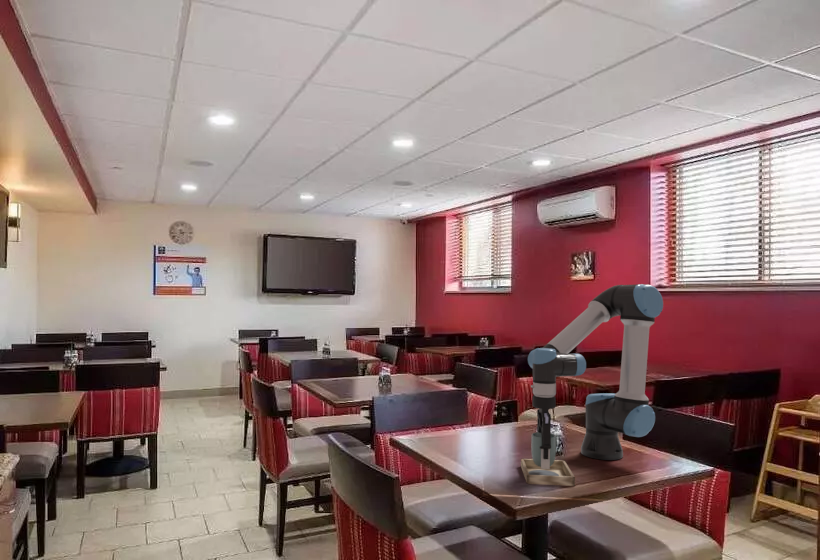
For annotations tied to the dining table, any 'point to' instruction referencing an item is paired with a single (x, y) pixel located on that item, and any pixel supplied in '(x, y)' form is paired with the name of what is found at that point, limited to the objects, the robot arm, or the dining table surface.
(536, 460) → the cup
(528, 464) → the wooden tray
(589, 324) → the robot arm
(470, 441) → the dining table surface
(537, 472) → the pad
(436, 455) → the dining table surface
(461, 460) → the dining table surface
